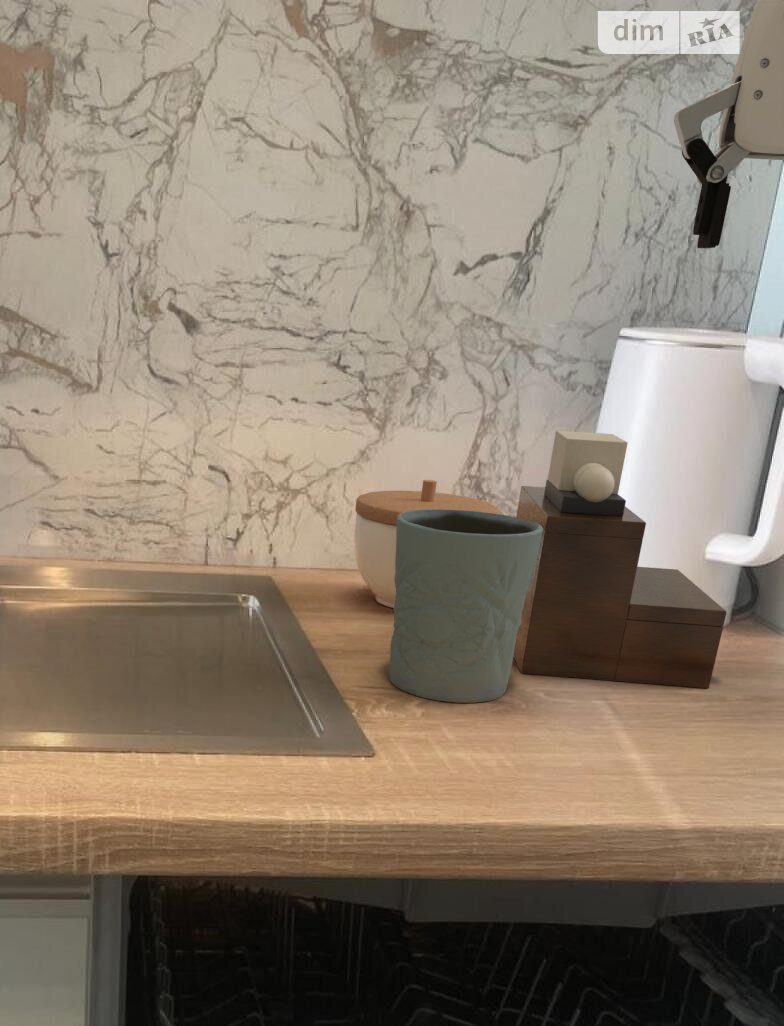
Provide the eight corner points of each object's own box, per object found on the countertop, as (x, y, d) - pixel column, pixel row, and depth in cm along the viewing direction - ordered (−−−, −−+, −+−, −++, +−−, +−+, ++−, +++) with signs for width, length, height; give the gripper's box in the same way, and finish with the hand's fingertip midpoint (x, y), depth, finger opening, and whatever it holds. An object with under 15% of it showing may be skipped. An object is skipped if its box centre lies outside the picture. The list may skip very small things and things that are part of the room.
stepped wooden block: (663, 638, 103) (693, 497, 98) (709, 688, 90) (746, 529, 85) (498, 625, 104) (521, 485, 99) (520, 673, 91) (547, 515, 87)
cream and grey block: (543, 494, 95) (554, 430, 93) (601, 498, 95) (613, 433, 93) (562, 514, 87) (574, 444, 85) (625, 518, 87) (639, 448, 85)
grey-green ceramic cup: (406, 707, 83) (429, 534, 78) (359, 663, 92) (376, 505, 87) (540, 704, 85) (570, 535, 80) (481, 661, 94) (504, 507, 89)
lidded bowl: (508, 619, 106) (528, 493, 102) (376, 621, 103) (391, 492, 99) (448, 585, 117) (464, 470, 113) (327, 586, 114) (338, 468, 110)
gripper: (955, -22, 80) (882, 258, 87) (690, -29, 82) (639, 246, 88) (1012, -50, 73) (929, 256, 80) (722, -57, 75) (664, 243, 82)
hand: (777, 251), depth 84 cm, fingers open, 9 cm apart
